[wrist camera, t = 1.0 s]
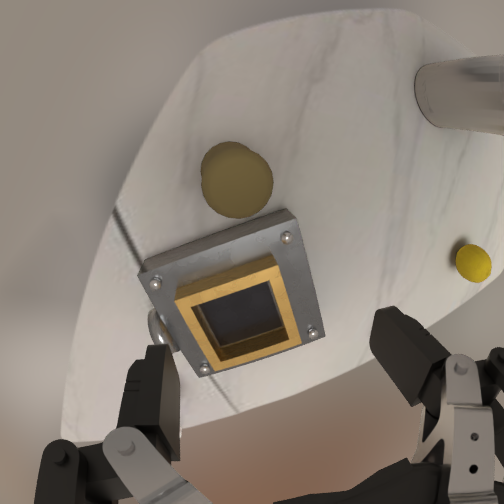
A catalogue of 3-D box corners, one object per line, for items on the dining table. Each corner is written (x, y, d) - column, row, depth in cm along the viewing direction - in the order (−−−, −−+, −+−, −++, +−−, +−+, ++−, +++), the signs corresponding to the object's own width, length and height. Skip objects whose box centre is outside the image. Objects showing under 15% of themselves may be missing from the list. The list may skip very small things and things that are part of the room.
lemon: (453, 274, 39) (483, 296, 32) (442, 257, 37) (475, 280, 30) (470, 249, 38) (502, 268, 31) (460, 230, 36) (495, 249, 29)
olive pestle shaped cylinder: (210, 134, 27) (209, 131, 17) (266, 151, 29) (295, 158, 18) (193, 190, 29) (184, 217, 19) (248, 204, 30) (267, 239, 20)
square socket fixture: (286, 208, 31) (304, 225, 25) (315, 318, 38) (332, 348, 32) (133, 264, 31) (118, 292, 25) (188, 360, 38) (187, 394, 32)
